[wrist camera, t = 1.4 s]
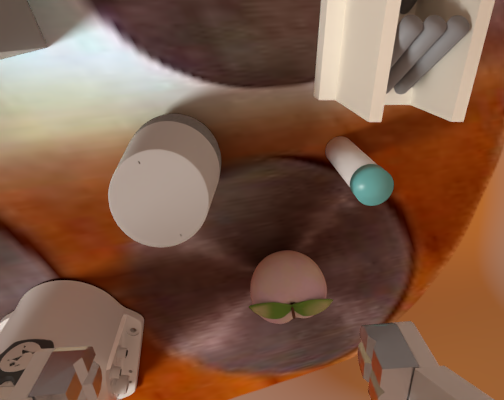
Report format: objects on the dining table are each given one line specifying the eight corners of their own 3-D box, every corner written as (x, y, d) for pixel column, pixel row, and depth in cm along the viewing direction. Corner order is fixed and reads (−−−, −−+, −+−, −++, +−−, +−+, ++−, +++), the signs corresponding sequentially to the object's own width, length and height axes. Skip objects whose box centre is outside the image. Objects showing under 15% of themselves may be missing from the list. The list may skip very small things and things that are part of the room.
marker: (351, 163, 42) (390, 205, 32) (323, 164, 42) (352, 206, 32) (355, 135, 41) (397, 169, 31) (325, 135, 41) (357, 169, 31)
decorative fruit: (310, 225, 46) (331, 274, 37) (321, 276, 49) (342, 332, 40) (238, 243, 46) (240, 296, 37) (253, 293, 50) (259, 352, 41)
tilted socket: (413, 96, 39) (487, 122, 28) (313, 96, 39) (348, 123, 28) (444, -60, 34) (552, -104, 22) (326, -64, 33) (377, -111, 22)
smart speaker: (234, 172, 42) (238, 234, 29) (162, 201, 43) (135, 273, 30) (199, 94, 38) (186, 126, 25) (120, 127, 39) (70, 175, 26)
